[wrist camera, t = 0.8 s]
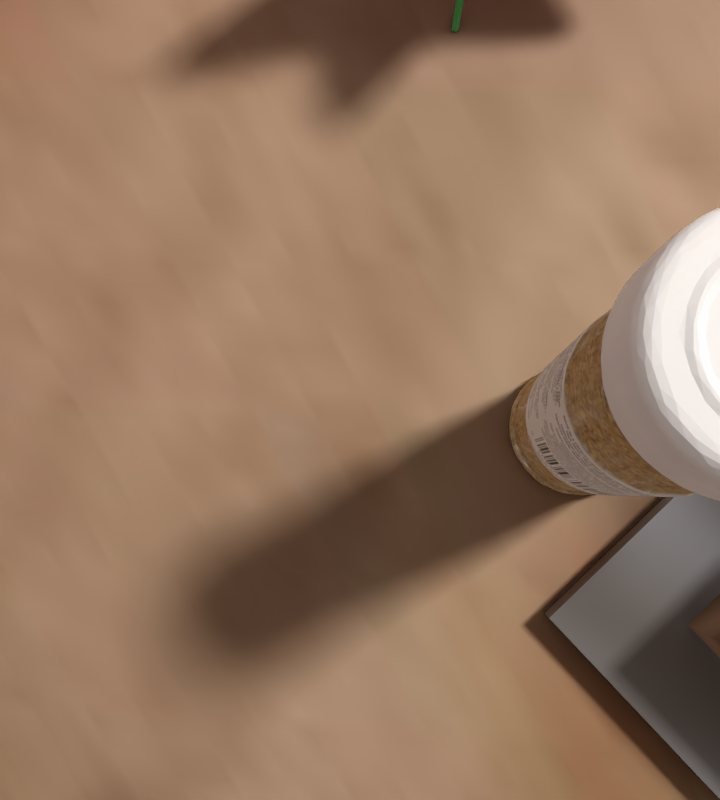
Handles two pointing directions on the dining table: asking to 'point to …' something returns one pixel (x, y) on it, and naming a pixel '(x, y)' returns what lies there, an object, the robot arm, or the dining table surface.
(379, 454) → the dining table surface
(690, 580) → the socket holder
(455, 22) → the lily
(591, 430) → the sprinkles bottle
